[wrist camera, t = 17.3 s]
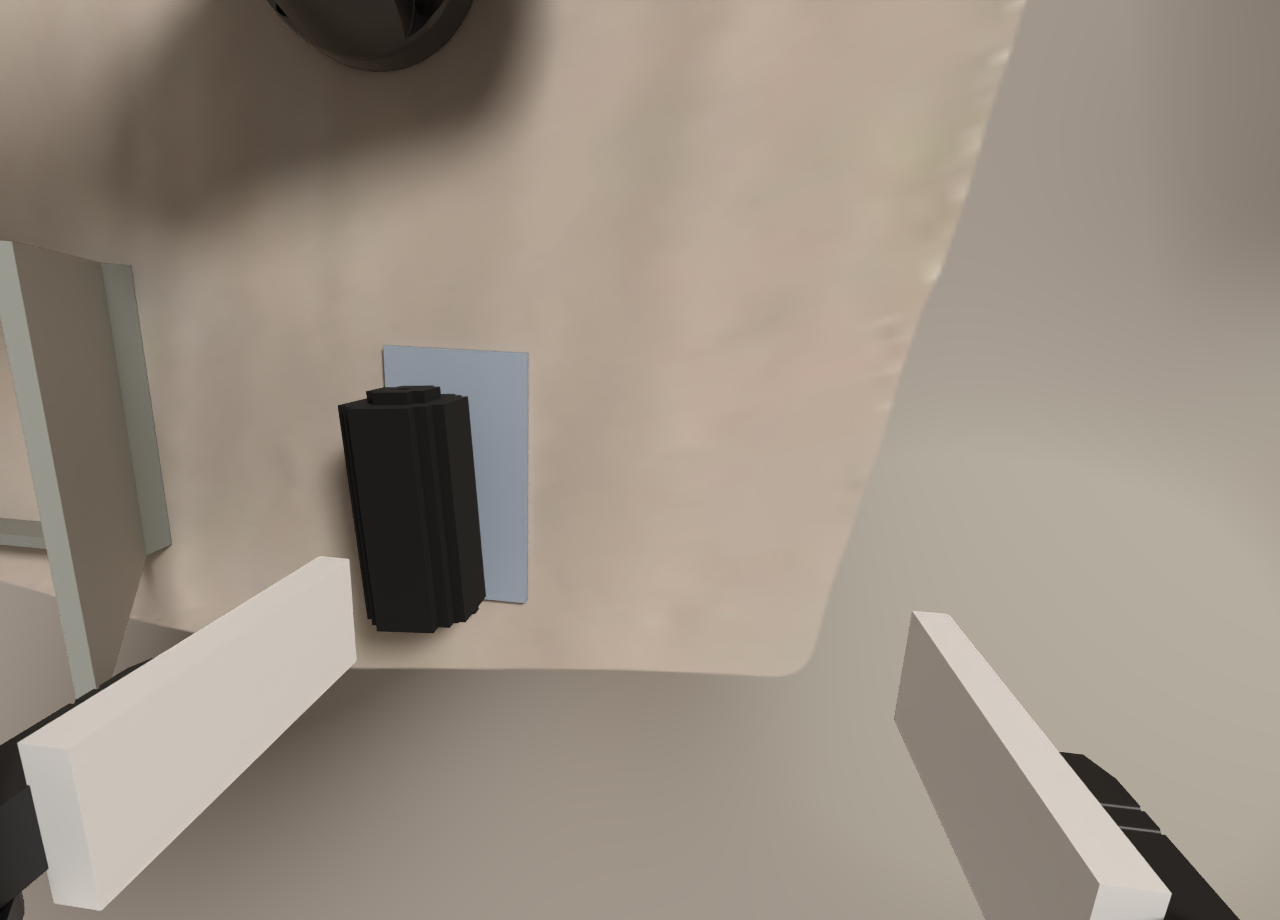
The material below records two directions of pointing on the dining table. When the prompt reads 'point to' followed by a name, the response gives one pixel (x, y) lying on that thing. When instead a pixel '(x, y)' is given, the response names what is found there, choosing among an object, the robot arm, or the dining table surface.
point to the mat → (485, 447)
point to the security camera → (414, 507)
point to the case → (84, 442)
